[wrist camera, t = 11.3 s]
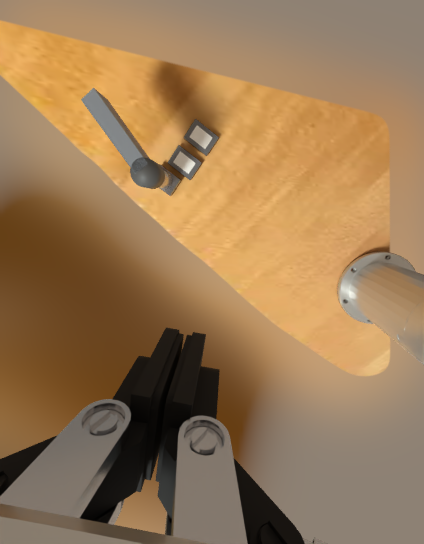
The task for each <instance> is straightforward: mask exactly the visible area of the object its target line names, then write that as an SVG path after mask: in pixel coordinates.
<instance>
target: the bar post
mask: <svg viewBox="0 0 424 544" xmlns="http://www.w3.org/2000/svg"><path fill="white" fill-rule="evenodd" d="M160 166H161V167H162V168H163V170H164V172H165V180H164V182H163V184H162V185H161V186H160V187H159V188H160V189H162V190H163V191H164V192H166V193H167V194H168V195H170V196H171V195H172V194H173V192H174V191H175V189H176V188H177V186H178V185H179V183H180V182H181V180H180V179H179V178H177V177H176V176H175V175H173V174H172V173H171V172H170V171H168V170H167V169H166V168H164V167H163V166H162V165H160Z"/></svg>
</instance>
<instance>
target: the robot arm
mask: <svg viewBox="0 0 424 544" xmlns="http://www.w3.org/2000/svg"><path fill="white" fill-rule="evenodd" d="M385 256H386V257H385ZM352 268H353V269H352ZM351 269H352V270H351ZM337 294H338V300H339V302H340V304H341V306H342V308H343V309H344V311H345V312H346V313H347V314H348V315H350V316H351V317H352V318H354V319H356V320H358V321H360V322H363V323H368V324H375V325H376V326H377V327H378V328H380V329H381V330H382V331H383V332H384V333H386V334H387V335H388V336H389V337H390V338H392V339H393V340H394V341H395V342H397V343H398V344H399V345H400V346H401V347H403V348H404V349H405V350H406V351H407V352H409V353H410V354H411V355H412V356H414V357H415V358H416V359H417V360H418V361H420V362H421V363H422V364H424V275H422V274H420V273H417V272H416V271H415V269H414V268H413V266H412V265H411V264H410V263H409V262H408V261H407V260H406V259H404V258H403V257H401V256H399V255H396V254H393V253H389V252H372V253H369V254H365V255H363V256H361V257H359V258H357V259H356V260H354V261H353V262H352V263H351V264H350V265H349V266H348V267H347V268H346V269H345V270H344V272H343V273H342V275H341V277H340V280H339V283H338V291H337ZM344 299H345V300H344ZM343 300H344V301H343ZM205 337H206V334H200V333H195V332H193V334H192V336H191V335H187V337H186V340H185V343H184V347H183V349H182V344H183V334H179V330H177V329H171V328H166V329H165V331H164V332H163V334H162V337H161V338H160V340H159V342H158V344H157V346H156V348H155V350H154V352H153V354H152V355H151V357H150V358H149V357H144V356H139V357H138V358H137V360H136V361H135V363H134V364H133V366H132V368H131V369H130V371H129V373H128V374H127V376H126V378H125V379H124V381H123V383H122V385H121V386H120V388H119V389H118V391H117V393H116V394H115V396H114V397H113V399H107V400H100V401H97V402H94V403H92V404H90V405H88V406H87V407H86V408H84V409H83V410H82V411H81V412H80V413H79V414H78V415H77V416H76V417H75V418H74V419H73V420H72V421H71V422H70V423H69V424H68V425H67V427H66V428H65V429H64V430H63V431H62V432H61V433H60V434H59V435H57V436H55V437H52V438H50V439H47V440H45V441H43V442H41V443H38V444H36V445H33V446H31V447H29V448H26V449H24V450H21V451H19V452H17V453H14V454H12V455H9V456H7V457H5V458H2V459H0V544H327V543H325V542H323V541H321V540H318V539H316V538H314V539H313V542H310V541H308V540H306V539H304V538H302V536H301V534H300V533H299V531H298V530H297V529H296V527H295V526H294V525H293V523H292V522H291V521H290V520H289V519H288V518H287V517H286V516H285V514H283V512H282V511H281V510H280V509H279V508H278V507H277V506H276V504H275V503H274V502H273V501H272V500H271V499H270V498H269V497H268V496H267V495H266V493H265V492H264V491H263V490H262V489H261V488H260V487H259V486H258V484H257V483H256V482H255V481H254V480H253V479H252V478H251V477H250V476H249V474H248V473H247V472H246V471H245V470H244V469H243V468H242V467H241V466H240V464H239V463H238V462H237V461H236V460H235V459H234V458H233V454H232V447H231V441H230V437H229V433H228V431H227V429H226V428H225V426H224V425H223V424H222V423H220V422H219V421H218V420H216V414H217V400H218V385H219V369H213V368H207V367H202V366H201V362H202V356H203V349H204V343H205ZM181 351H182V352H181ZM158 454H159V458H158V467H157V474H156V481H157V482H159V490H158V497H159V499H160V500H161V502H162V504H163V506H164V508H165V509H166V511H167V517H166V527H165V535H163V534H158V533H152V532H148V531H143V530H137V529H132V528H127V527H122V526H117V525H114V524H115V522H116V520H117V518H118V516H119V514H120V512H121V509H122V506H123V502H124V499H125V498H127V497H129V496H130V495H132V494H133V493H135V492H136V491H138V492H141V489H142V486H143V483H144V480H145V479H147V480H151V478H152V474H153V471H154V467H155V464H156V460H157V457H158Z"/></svg>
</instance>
